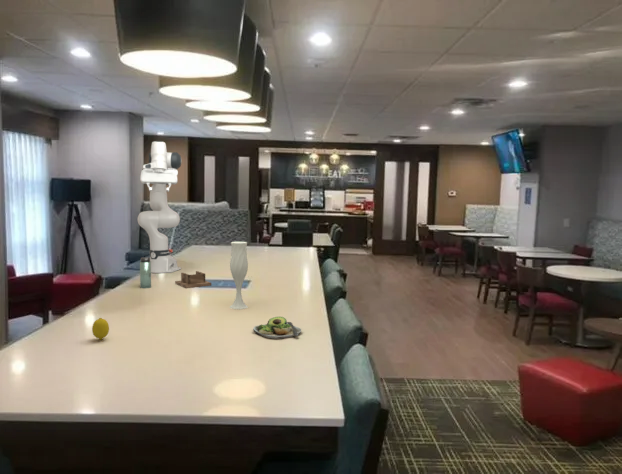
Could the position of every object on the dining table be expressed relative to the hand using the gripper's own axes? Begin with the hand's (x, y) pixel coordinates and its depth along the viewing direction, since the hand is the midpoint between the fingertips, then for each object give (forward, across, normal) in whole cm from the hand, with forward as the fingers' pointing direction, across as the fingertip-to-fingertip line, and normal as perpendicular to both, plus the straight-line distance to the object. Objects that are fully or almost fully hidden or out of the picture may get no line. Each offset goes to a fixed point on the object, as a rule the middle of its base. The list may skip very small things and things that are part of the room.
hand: (159, 191), depth 285 cm
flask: (+54, +7, -4) cm, 54 cm away
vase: (+72, -34, +49) cm, 94 cm away
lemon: (+84, +22, +85) cm, 122 cm away
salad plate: (+86, -42, +90) cm, 132 cm away
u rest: (+53, -18, -6) cm, 56 cm away
